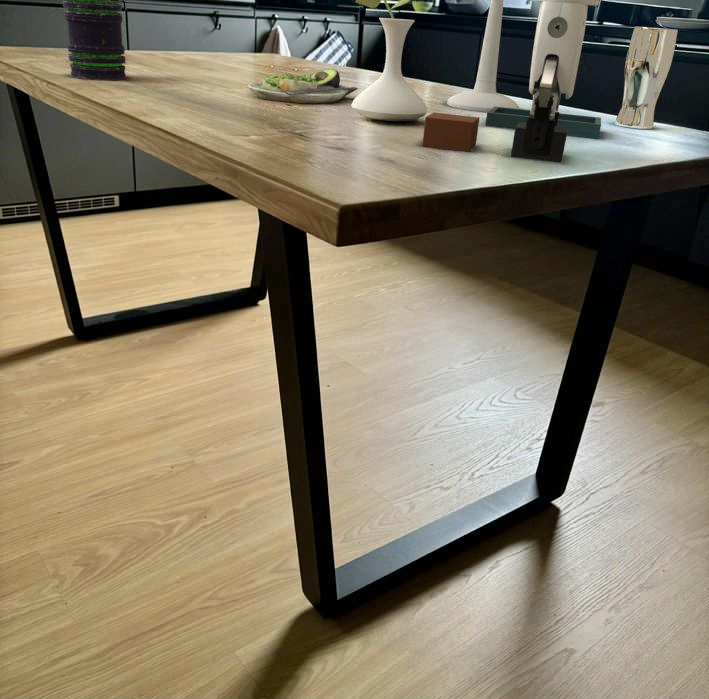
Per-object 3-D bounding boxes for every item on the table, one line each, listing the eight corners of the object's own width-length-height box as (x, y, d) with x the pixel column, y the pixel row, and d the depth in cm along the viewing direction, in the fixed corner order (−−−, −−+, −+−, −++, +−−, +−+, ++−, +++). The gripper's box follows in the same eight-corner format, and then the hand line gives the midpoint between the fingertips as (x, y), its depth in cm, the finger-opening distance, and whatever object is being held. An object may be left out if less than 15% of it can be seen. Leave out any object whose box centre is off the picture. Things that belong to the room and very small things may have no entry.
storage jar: (83, 80, 126) (74, -15, 119) (61, 73, 132) (51, -17, 126) (136, 79, 132) (130, -11, 125) (113, 73, 138) (106, -13, 132)
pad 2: (562, 155, 90) (568, 127, 88) (561, 162, 85) (566, 132, 84) (514, 150, 91) (519, 121, 90) (510, 156, 87) (515, 127, 85)
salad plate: (338, 109, 114) (339, 78, 112) (231, 99, 117) (231, 68, 114) (361, 97, 131) (363, 70, 129) (268, 88, 134) (268, 61, 132)
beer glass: (656, 131, 116) (680, 30, 109) (611, 126, 118) (633, 26, 111) (654, 125, 122) (677, 29, 115) (612, 120, 124) (632, 26, 117)
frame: (598, 130, 112) (601, 117, 111) (598, 138, 105) (601, 124, 104) (492, 119, 116) (494, 106, 115) (485, 126, 108) (487, 112, 108)
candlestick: (444, 108, 125) (468, -93, 112) (449, 99, 136) (470, -84, 123) (519, 114, 123) (551, -89, 110) (517, 105, 134) (546, -79, 121)
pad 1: (475, 145, 92) (479, 117, 91) (469, 151, 88) (473, 122, 87) (430, 140, 94) (433, 112, 92) (422, 146, 89) (425, 116, 88)
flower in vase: (439, 121, 109) (461, -67, 98) (401, 129, 100) (420, -77, 90) (368, 110, 115) (381, -68, 104) (326, 116, 107) (335, -78, 96)
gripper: (601, -12, 72) (566, 165, 79) (600, -6, 87) (571, 141, 95) (525, -17, 74) (499, 156, 81) (538, -11, 89) (514, 135, 96)
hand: (538, 147), depth 88 cm, fingers open, 7 cm apart
